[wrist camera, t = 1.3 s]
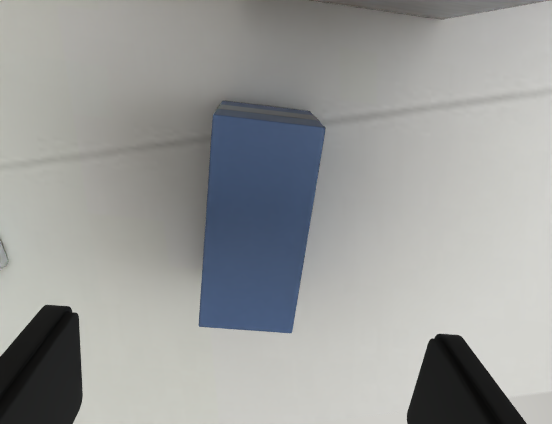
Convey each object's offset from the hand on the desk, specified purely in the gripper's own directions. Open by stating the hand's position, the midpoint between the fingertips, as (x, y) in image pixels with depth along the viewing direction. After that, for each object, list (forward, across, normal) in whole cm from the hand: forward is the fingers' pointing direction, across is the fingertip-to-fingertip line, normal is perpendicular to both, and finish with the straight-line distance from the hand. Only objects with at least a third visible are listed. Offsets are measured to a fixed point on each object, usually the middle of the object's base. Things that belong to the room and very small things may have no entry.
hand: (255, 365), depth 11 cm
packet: (+13, 0, 0) cm, 13 cm away
